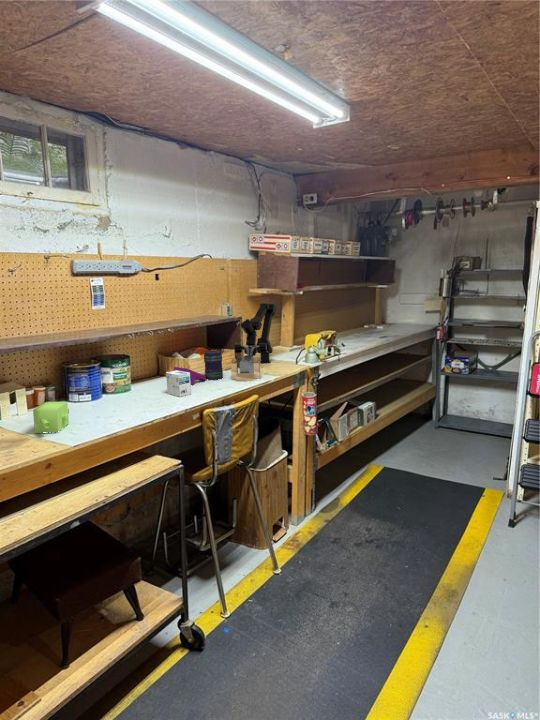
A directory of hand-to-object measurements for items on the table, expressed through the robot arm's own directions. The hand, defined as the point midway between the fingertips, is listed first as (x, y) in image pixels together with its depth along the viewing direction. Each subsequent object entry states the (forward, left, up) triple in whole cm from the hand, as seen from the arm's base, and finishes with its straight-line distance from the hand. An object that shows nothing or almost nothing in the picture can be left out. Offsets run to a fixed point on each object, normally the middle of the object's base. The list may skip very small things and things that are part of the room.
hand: (249, 360), depth 268 cm
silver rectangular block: (+10, -3, -7) cm, 13 cm away
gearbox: (+87, -81, -7) cm, 119 cm away
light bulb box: (+43, -38, -7) cm, 58 cm away
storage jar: (+12, -21, -7) cm, 25 cm away
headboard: (+20, -4, -7) cm, 22 cm away
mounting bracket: (+19, -33, -8) cm, 39 cm away
